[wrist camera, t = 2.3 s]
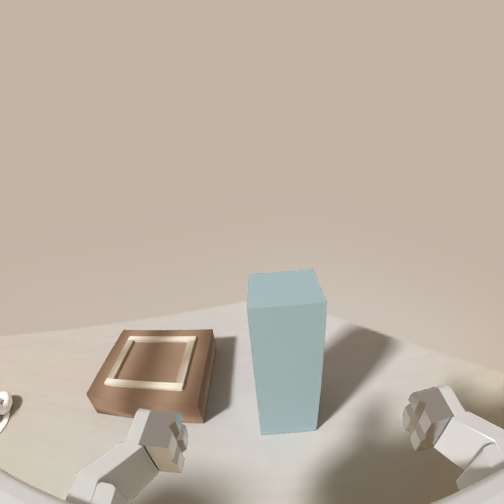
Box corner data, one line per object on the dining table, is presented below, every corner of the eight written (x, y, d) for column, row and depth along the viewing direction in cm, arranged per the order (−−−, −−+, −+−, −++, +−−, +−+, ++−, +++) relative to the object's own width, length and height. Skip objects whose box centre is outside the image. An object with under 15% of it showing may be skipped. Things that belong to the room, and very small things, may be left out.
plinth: (216, 348, 36) (212, 327, 35) (203, 423, 25) (196, 402, 24) (129, 347, 37) (122, 328, 36) (97, 412, 26) (85, 392, 25)
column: (309, 392, 28) (313, 269, 23) (316, 430, 23) (326, 302, 18) (260, 396, 28) (248, 274, 23) (261, 434, 24) (246, 308, 19)
